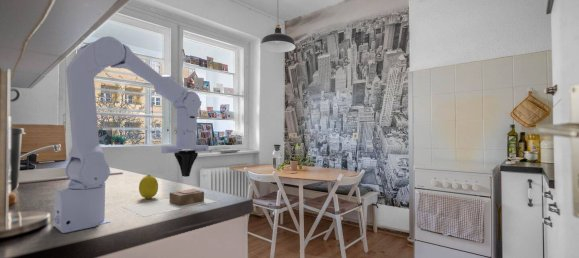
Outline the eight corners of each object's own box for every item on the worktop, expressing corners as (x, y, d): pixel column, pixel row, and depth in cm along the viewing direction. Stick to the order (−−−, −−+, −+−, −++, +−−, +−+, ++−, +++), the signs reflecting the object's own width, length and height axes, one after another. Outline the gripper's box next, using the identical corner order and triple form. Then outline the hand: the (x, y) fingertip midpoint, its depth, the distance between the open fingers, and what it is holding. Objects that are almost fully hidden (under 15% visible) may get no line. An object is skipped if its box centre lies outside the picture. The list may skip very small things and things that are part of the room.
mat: (143, 218, 75) (143, 216, 75) (121, 208, 84) (121, 206, 84) (216, 203, 92) (216, 201, 92) (191, 196, 101) (191, 194, 101)
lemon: (149, 202, 91) (149, 176, 91) (134, 201, 93) (135, 175, 93) (161, 198, 97) (162, 173, 97) (147, 197, 98) (148, 173, 98)
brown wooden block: (180, 194, 86) (204, 190, 92) (169, 191, 90) (193, 188, 96) (179, 206, 86) (203, 201, 92) (169, 202, 90) (193, 198, 96)
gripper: (200, 131, 99) (199, 172, 99) (156, 130, 88) (155, 177, 88) (212, 131, 94) (211, 174, 94) (168, 131, 83) (167, 180, 83)
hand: (185, 176), depth 91 cm, fingers closed
